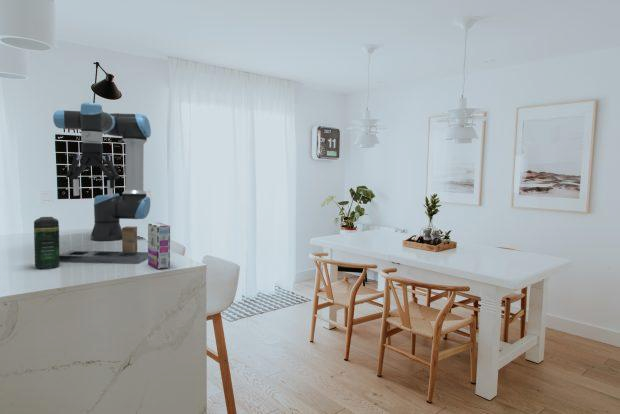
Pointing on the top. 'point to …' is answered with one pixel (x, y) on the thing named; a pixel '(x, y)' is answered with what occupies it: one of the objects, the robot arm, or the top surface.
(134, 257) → the grey metal hole board
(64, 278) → the top surface
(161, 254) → the candy bar box
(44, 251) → the coffee jar
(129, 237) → the walnut peg
